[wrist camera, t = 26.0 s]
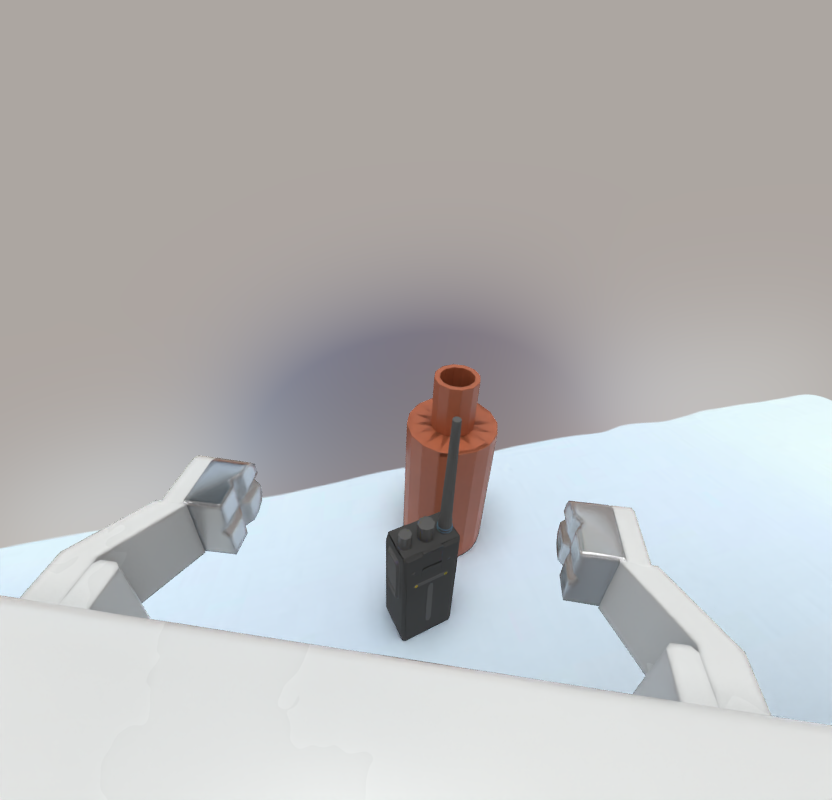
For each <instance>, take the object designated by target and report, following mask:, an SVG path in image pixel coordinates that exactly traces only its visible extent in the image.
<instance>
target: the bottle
mask: <svg viewBox="0 0 832 800" xmlns="http://www.w3.org/2000/svg"><path fill="white" fill-rule="evenodd" d="M479 387H480V375H479V374H478V373H477V372H476V371H475V370H474V369H472V368H469V367H467V366H464V365H448V366H443V367H441V368H440V369H438V370H437V371H436V372H435V377H434V390H433V398H432V399H429V400H427V401H425V402H422V403H420V404H418V405H417V406H416V407H415V408H414V409H413V410H412V411H411V412H410V414H409V418H408V422H407V441H406V467H405V495H404V526H405V525H407V524H410V523H412V522H415V521H417V520H419V518H422V517H424V516H430V515H433V514H435V513H438V512H440V509H441V502H442V494H443V487H444V479H445V472H446V464H447V457H448V449H449V441H450V434H451V426H452V419H453V417H460V418H461V419H462V424H461V434H460V444H459V454H458V464H457V473H456V483H455V493H454V503H453V513H452V518H453V521H452V523H453V527H454V528H455V529H456V531H457V532H458V534H459V535H460V543H459V550H458V556H459V555H461V554H463V553H465V552H466V551H468V550H469V549H470V548H471V547H472V546H473V545H474V543H475V541H476V539H477V536H478V534H479V529H480V523H481V518H482V513H483V508H484V502H485V497H486V492H487V486H488V481H489V476H490V470H491V465H492V460H493V454H494V449H495V443H496V439H497V422H496V420H495V419H494V418H493V416H492V414H491V413H490V412H489V411H488V410H487V409H485V408H484V407H482V406H481V405H480V404H478V403H477V401H478V394H479Z"/></svg>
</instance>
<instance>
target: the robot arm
mask: <svg viewBox="0 0 832 800" xmlns="http://www.w3.org/2000/svg"><path fill="white" fill-rule="evenodd" d="M256 475H257V470H256V466H255V464H253V463H248V462H241V461H235V460H229V459H221V458H213V457H206V456H197V457H195V458H193V459H192V461H191V462H190V463H189V464H188V466H187V467H186V468H185V470H184V471H183V473H182V474H181V475H180V476H179V478H178V479H177V480H176V482H175V483H174V484H173V486H172V487H171V488H170V489H169V491H168V492H167V493H166V495H165V496H164V497H163V499H162V500H161V501H159V500H155V501H153V502H151V503H149V504H148V505H146V506H144V507H142V508H140V509H138V510H137V511H135V512H133V513H131V514H129V515H127V516H125V517H124V518H122V519H120V520H118V521H116V522H115V523H113V524H111V525H109V526H107V527H105V528H103V529H102V530H100V531H98V532H96V533H94V534H92V535H91V536H89V537H87V538H85V539H83V540H81V541H80V542H78V543H76V544H74V545H72V546H70V547H69V548H67V549H65V550H63V551H61V552H60V553H59V554H58V555H57V556H56V557H55V558H54V560H53V561H52V562H51V563H50V564H49V565H48V566H47V568H46V569H45V570H44V571H43V572H42V573H41V574H40V575H39V577H38V578H37V579H36V580H35V581H34V582H33V583H32V584H31V586H30V587H29V588H28V589H27V590H26V591H25V592H24V594H23V595H22V596H21V597H20V598H14V597H7V596H1V595H0V800H832V725H826V724H820V723H813V722H807V721H800V720H794V719H788V718H781V717H775V716H772V715H771V713H770V711H769V708H768V706H767V704H766V701H765V699H764V696H763V694H762V692H761V689H760V687H759V685H758V682H757V680H756V677H755V675H754V673H753V670H752V668H751V665H750V663H749V661H748V658H747V656H746V654H745V652H744V651H743V650H742V649H741V648H740V647H739V646H738V645H737V644H736V643H735V642H734V641H733V640H732V639H731V638H730V637H729V636H728V635H727V634H726V633H725V632H724V631H723V630H722V629H721V628H720V627H719V626H718V625H717V624H716V623H715V622H714V621H713V620H712V619H711V618H710V617H709V616H708V615H707V614H706V613H705V612H704V611H703V610H702V609H701V608H700V607H699V606H698V605H697V604H696V603H695V602H694V601H693V600H692V599H691V598H690V597H689V596H688V595H687V594H686V593H685V592H684V591H683V590H682V589H681V588H680V587H679V586H678V585H677V584H676V583H675V582H674V581H673V580H672V579H671V578H670V577H669V576H668V575H667V574H666V573H665V572H664V571H663V570H662V569H661V568H659V567H658V566H654V565H651V561H650V558H649V555H648V552H647V549H646V546H645V542H644V539H643V536H642V533H641V530H640V527H639V524H638V520H637V517H636V514H635V511H634V510H633V509H632V508H628V507H619V506H609V505H602V504H593V503H584V502H575V501H568V503H567V504H566V507H565V510H564V513H565V520H564V521H562V522H560V525H559V529H558V533H557V558H558V560H559V562H560V563H561V564H562V565H563V567H562V570H561V573H560V582H561V589H562V596H563V600H566V601H572V602H578V603H584V604H590V605H596V606H599V607H598V608H599V609H600V611H601V612H602V614H603V615H604V617H605V618H606V620H607V621H608V622H609V624H610V625H611V627H612V628H613V630H614V631H615V632H616V634H617V635H618V637H619V638H620V640H621V641H622V642H623V644H624V645H625V647H626V648H627V650H628V651H629V653H630V654H631V655H632V657H633V658H634V660H635V661H636V663H637V664H638V665H639V667H640V668H641V670H642V671H643V673H644V674H645V678H644V679H643V681H642V682H641V683H640V685H639V686H638V687H637V689H636V690H635V692H634V693H633V694H628V693H621V692H615V691H608V690H602V689H596V688H589V687H583V686H576V685H570V684H564V683H557V682H551V681H544V680H538V679H531V678H525V677H519V676H512V675H506V674H500V673H493V672H487V671H480V670H474V669H468V668H461V667H455V666H448V665H442V664H436V663H429V662H423V661H417V660H410V659H404V658H397V657H391V656H385V655H378V654H372V653H365V652H359V651H352V650H346V649H340V648H333V647H327V646H320V645H314V644H307V643H301V642H294V641H288V640H282V639H275V638H269V637H262V636H256V635H250V634H243V633H237V632H230V631H224V630H218V629H211V628H205V627H198V626H192V625H186V624H179V623H173V622H166V621H160V620H154V619H150V616H149V615H148V613H147V611H146V610H145V608H144V607H143V605H142V603H143V602H144V601H145V600H146V599H148V598H149V597H150V596H151V595H153V594H154V593H155V592H156V591H158V590H159V589H160V588H161V587H163V586H164V585H165V584H166V583H168V582H169V581H170V580H171V579H173V578H174V577H175V576H176V575H178V574H179V573H180V572H181V571H183V570H184V569H185V568H187V567H188V566H189V565H190V564H192V563H193V562H194V561H195V560H197V559H198V558H199V557H200V556H202V555H203V554H204V553H205V551H212V552H221V553H230V554H237V552H238V551H239V549H240V547H241V545H242V543H243V541H244V539H245V537H246V535H247V529H246V525H247V524H249V523H250V522H252V521H253V520H255V518H256V516H257V514H258V512H259V509H260V505H261V501H262V490H261V485H260V484H259V483H258V482H257V481H256V480H255V479H254V478H255V477H256Z"/></svg>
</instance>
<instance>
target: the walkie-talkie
mask: <svg viewBox="0 0 832 800" xmlns="http://www.w3.org/2000/svg"><path fill="white" fill-rule="evenodd" d="M461 424H462V419H461V418H460V417H453V419H452V426H451V434H450V441H449V449H448V457H447V464H446V472H445V479H444V487H443V494H442V502H441V509H440V512H438V513H435V514H433V515H430V516H424V517H422V518H419V520H417V521H415V522H412V523H410V524H407V525H405V526H402V527H400V528H397V529H395V530H392V531H390V532H388V536H387V538H386V606H387V609H388V611H389V613H390V615H391V617H392V619H393V621H394V623H395V625H396V627H397V629H398V631H399V633H400V635H401V638H402V640H405V641H406V640H408V639H410V638H412V637H414V636H416V635H418V634H420V633H422V632H424V631H426V630H428V629H429V628H431V627H433V626H435V625H437V624H439V623H441V622H443V621H445V620H447V619H448V618H449V616H450V609H451V601H452V594H453V587H454V579H455V572H456V565H457V557H458V550H459V543H460V535H459V534H458V532H457V531H456V529H455V528H454V527H453V523H452V521H453V518H452V513H453V503H454V493H455V483H456V473H457V464H458V454H459V444H460V434H461Z"/></svg>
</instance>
